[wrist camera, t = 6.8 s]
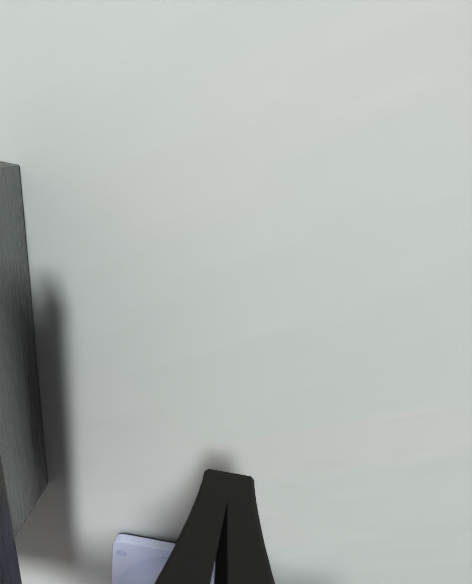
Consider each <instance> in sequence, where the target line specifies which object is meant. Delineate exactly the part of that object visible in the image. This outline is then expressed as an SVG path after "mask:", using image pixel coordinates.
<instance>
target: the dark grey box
mask: <svg viewBox="0 0 472 584" xmlns="http://www.w3.org/2000/svg"><path fill="white" fill-rule="evenodd" d="M0 455H1V461H2V467H3V473H4V479H5V485H6V491H7V497H8V504H9V510H10V516H11V522H12V528H13V534H14V537H15V535H16V534H17V532H18V530H19V529H20V527H21V526H22V524H23V522H24V521H25V519H26V518H27V516H28V514H29V513H30V511H31V510H32V508H33V506H34V505H35V503H36V502H37V500H38V498H39V497H40V495H41V494H42V492H43V490H44V489H45V487H46V486H47V484H48V479H47V468H46V457H45V447H44V436H43V425H42V414H41V403H40V392H39V381H38V370H37V359H36V348H35V337H34V326H33V315H32V304H31V293H30V282H29V271H28V260H27V249H26V238H25V227H24V217H23V206H22V195H21V184H20V173H19V165H17V164H11V163H5V162H0Z"/></svg>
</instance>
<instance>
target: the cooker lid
mask: <svg viewBox="0 0 472 584" xmlns="http://www.w3.org/2000/svg"><path fill="white" fill-rule="evenodd" d="M0 584H22V582H21V576H20V570H19V564H18V558H17V552H16V546H15V540H14V534H13V528H12V522H11V516H10V510H9V504H8V497H7V491H6V485H5V479H4V473H3V467H2V461H1V455H0Z"/></svg>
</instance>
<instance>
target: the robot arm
mask: <svg viewBox="0 0 472 584" xmlns="http://www.w3.org/2000/svg"><path fill="white" fill-rule="evenodd" d="M112 584H275V582H274V579H273V575H272V572H271V568H270V564H269V560H268V556H267V552H266V548H265V544H264V539H263V535H262V530H261V525H260V520H259V515H258V510H257V504H256V497H255V488H254V480H253V478H252V477H251V476H245V475H240V474H234V473H228V472H222V471H217V470H211V469H208V470H206V471H205V472H204V476H203V480H202V483H201V486H200V489H199V492H198V495H197V498H196V500H195V503H194V505H193V508H192V510H191V512H190V515H189V517H188V519H187V521H186V523H185V526H184V528H183V530H182V532H181V534H180V536H179V538H178V540H177V542H176V543H170V542H165V541H159V540H154V539H148V538H143V537H138V536H132V535H127V534H119V535H117V536H116V537H115V539H114V542H113V546H112Z"/></svg>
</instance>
